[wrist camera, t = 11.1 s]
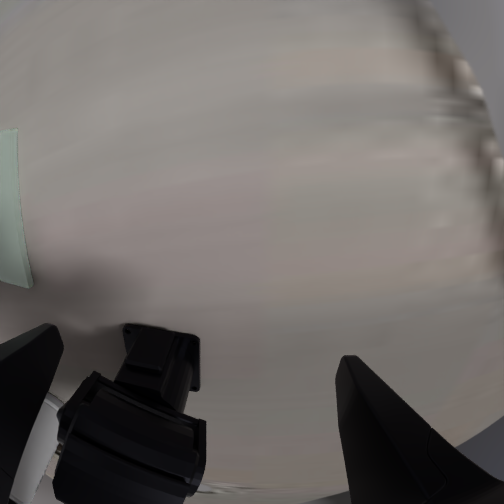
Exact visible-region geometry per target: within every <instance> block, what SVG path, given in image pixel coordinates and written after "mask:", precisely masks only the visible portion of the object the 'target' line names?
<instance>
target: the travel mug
mask: <svg viewBox="0 0 504 504" xmlns="http://www.w3.org/2000/svg"><path fill="white" fill-rule="evenodd" d="M63 405H64V404H63V403H62V402H61V401H60V400H59V399H58V398H56V397H55V396H53V395H52V394H50V393H47V395H46V397H45V400H44V402H43V404H42V406H41V409H40V411H39V413H38V416H37V418H36V421H35V423H34V426H33V428H32V431H31V433H30V436H29V438H28V441H27V444H26V447H25V449H24V452H23V455H22V458H21V461H20V464H19V467H18V470H17V473H16V476H15V479H14V483H13V487H12V490H11V494H10V497H9V501H8V504H31V502H32V500H33V497H34V495H35V493H36V491H37V488H38V486H39V484H40V482H41V479H42V477H43V475H44V473H45V471H46V469H47V467H48V464H49V462H50V460H51V458H52V456H53V454H54V452H55V450H56V448H57V446H58V444H59V442H58V441H57V433H58V426H59V422H58V419H57V417H56V414H57V411H58V410H59V408H61V407H62V406H63Z"/></svg>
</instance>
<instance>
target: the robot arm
mask: <svg viewBox="0 0 504 504" xmlns="http://www.w3.org/2000/svg"><path fill="white" fill-rule="evenodd" d="M127 329H128V330H130V331H128V330H127ZM123 336H124V341H125V347H126V352H127V356H126V358H125V360H124V362H123V364H122V366H121V368H120V370H119V372H118V374H117V376H116V378H115V380H114V382H112V381H110V380H109V379H107V378H105V377H103V376H101V374H100V373H98V372H96V371H93V373H92V374H91V375H90V376H89V377H88V376H87V377H86V379H85V380H83V382H82V383H81V385H80V387H79V388H78V389H77V390H76V392H75V393H74V394H73V396H72V397H71V398H70V400H68V401H67V402H66V403H65V404H64V405H63V406H62V407H61V408H59V410H58V411H57V414H56V417H57V419H58V422H59V426H58V433H57V441H58V442H60V443H61V444H63V447H62V450H61V453H60V456H59V460H58V463H57V466H56V469H55V476H54V479H53V482H52V484H53V489H54V494H55V497H56V499H57V500H59V501H61V502H63V503H64V504H183V502H184V500H185V498H186V497H191V496H193V495H194V493H195V492H196V491H197V489H198V487H199V485H200V483H201V480H202V477H203V474H204V470H205V465H206V421H205V420H202V419H196V418H193V417H191V416H188V415H185V414H183V413H184V409H185V405H186V401H187V397H188V393H189V391H193V392H197V391H199V389H200V339H199V337H197V336H195V335H189V334H182V333H176V332H170V331H164V330H158V329H153V328H147V327H142V326H136V325H131V324H126V325H125V326H124V327H123ZM192 341H195V343H194V342H192ZM63 350H64V345H63V341H62V339H61V336H60V333H59V331H58V328H57V327H56V326H55V325H53V324H49V323H45V324H43V325H40V326H38V327H36V328H34V329H32V330H30V331H28V332H26V333H23V334H21V335H19V336H17V337H15V338H13V339H11V340H9V341H7V342H5V343H3V344H0V504H8V501H9V497H10V494H11V490H12V487H13V483H14V479H15V476H16V473H17V470H18V467H19V464H20V461H21V458H22V455H23V452H24V449H25V447H26V444H27V441H28V438H29V436H30V433H31V431H32V428H33V426H34V423H35V421H36V418H37V416H38V413H39V411H40V409H41V406H42V404H43V402H44V400H45V397H46V395H47V393H48V391H49V388H50V386H51V383H52V380H53V378H54V375H55V372H56V369H57V366H58V364H59V361H60V358H61V356H62V353H63ZM335 385H336V398H337V413H338V426H339V433H340V438H341V444H342V449H343V455H344V461H345V466H346V472H347V478H348V485H349V491H350V498H351V504H504V481H501V480H499V479H497V478H495V477H493V476H492V475H490V474H489V473H487V472H486V471H485V470H483V469H482V468H481V467H479V466H478V465H476V464H475V463H474V462H472V461H471V460H470V459H468V458H467V457H466V456H464V455H463V454H462V453H461V452H459V451H458V450H457V449H456V448H454V447H453V446H452V445H451V444H450V443H449V442H447V441H446V440H445V439H444V438H443V437H442V436H441V435H440V434H439V433H438V432H437V431H435V430H434V429H433V428H431V426H430V425H429V424H428V423H427V422H426V421H425V420H424V419H423V418H422V417H421V416H420V415H419V414H417V413H416V412H415V411H414V410H413V409H412V408H411V407H410V406H409V405H408V404H407V403H406V402H405V401H404V400H403V399H402V398H401V397H400V396H399V395H398V394H396V393H395V392H394V391H393V390H392V389H391V388H390V387H389V386H388V385H387V384H386V383H385V382H384V381H383V380H382V379H381V378H380V377H379V376H378V375H377V374H376V373H374V372H373V371H372V370H371V369H370V368H369V367H368V366H367V365H366V364H365V363H364V362H363V361H362V360H361V359H360V358H359V357H358V356H356V355H344V356H343V357H342V358H341V361H340V364H339V367H338V370H337V373H336V378H335Z"/></svg>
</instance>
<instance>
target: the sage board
mask: <svg viewBox="0 0 504 504" xmlns="http://www.w3.org/2000/svg"><path fill="white" fill-rule="evenodd" d="M17 136H18V128H13V129H8V130H3V131H0V281H2V282H6V283H9V284H13V285H16V286H20V287H24V288H27V289H30V288H31V287H32V286H33V285H34V283H33V279H32V274H31V270H30V265H29V260H28V255H27V249H26V243H25V237H24V230H23V223H22V215H21V206H20V196H19V182H18V158H17Z"/></svg>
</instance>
